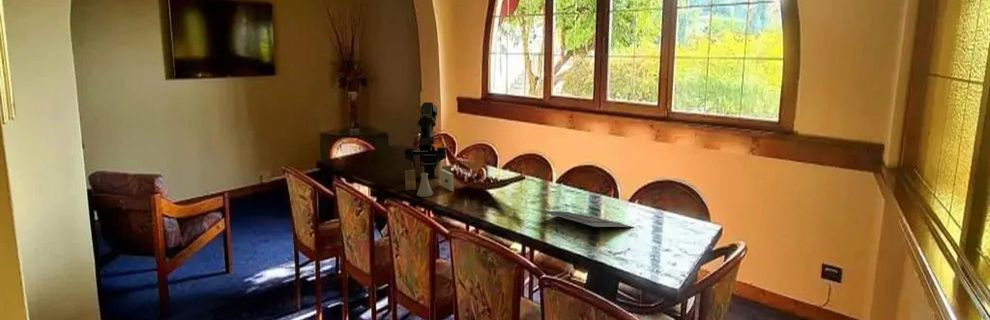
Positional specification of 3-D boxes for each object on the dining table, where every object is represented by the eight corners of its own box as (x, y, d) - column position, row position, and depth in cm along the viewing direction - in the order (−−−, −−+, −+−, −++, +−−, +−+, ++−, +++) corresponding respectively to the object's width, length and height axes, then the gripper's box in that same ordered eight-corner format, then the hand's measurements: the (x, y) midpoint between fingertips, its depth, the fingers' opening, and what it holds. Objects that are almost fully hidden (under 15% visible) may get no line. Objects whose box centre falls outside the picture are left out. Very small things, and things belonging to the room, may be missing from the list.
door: (438, 185, 291) (437, 169, 289) (443, 184, 292) (442, 168, 291) (448, 191, 281) (447, 174, 279) (453, 190, 282) (453, 174, 280)
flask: (413, 196, 275) (412, 174, 273) (422, 192, 281) (422, 170, 279) (427, 198, 272) (426, 176, 270) (436, 194, 278) (435, 172, 276)
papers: (574, 218, 254) (575, 209, 254) (634, 234, 232) (635, 224, 232) (532, 217, 238) (534, 208, 238) (593, 234, 216) (595, 224, 216)
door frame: (405, 189, 286) (404, 170, 284) (450, 183, 296) (450, 164, 294) (406, 190, 284) (406, 171, 282) (452, 184, 294) (452, 165, 292)
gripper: (403, 130, 280) (402, 159, 271) (445, 129, 280) (444, 158, 272) (406, 144, 289) (404, 172, 281) (446, 143, 290) (446, 172, 281)
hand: (424, 168), depth 278 cm, fingers open, 9 cm apart
